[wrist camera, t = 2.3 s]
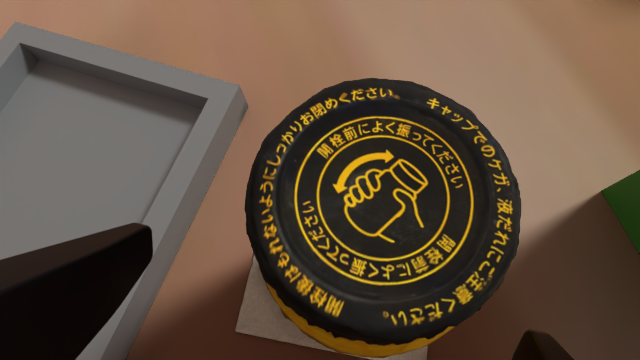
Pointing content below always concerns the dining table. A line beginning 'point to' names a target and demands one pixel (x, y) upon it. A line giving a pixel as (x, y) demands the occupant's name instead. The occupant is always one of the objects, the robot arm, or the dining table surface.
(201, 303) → the dining table surface
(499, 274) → the condiment
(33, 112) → the slate tray
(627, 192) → the hardback book
